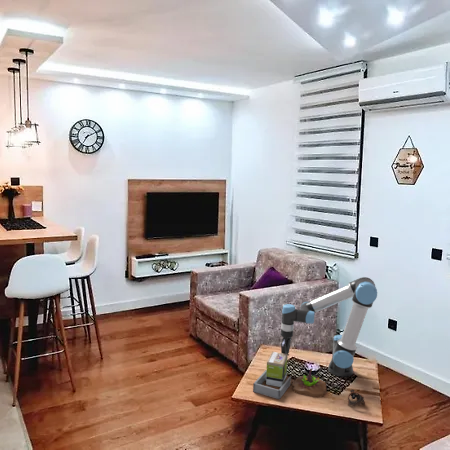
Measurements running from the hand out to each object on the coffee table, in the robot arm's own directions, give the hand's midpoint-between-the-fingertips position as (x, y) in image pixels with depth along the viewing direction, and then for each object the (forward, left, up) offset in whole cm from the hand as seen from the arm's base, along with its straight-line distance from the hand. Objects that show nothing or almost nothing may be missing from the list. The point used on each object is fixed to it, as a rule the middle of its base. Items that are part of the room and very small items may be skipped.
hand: (284, 365), depth 285 cm
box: (0, +22, -5) cm, 22 cm away
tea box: (+1, +12, -5) cm, 13 cm away
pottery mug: (-46, +14, -5) cm, 49 cm away
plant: (-19, +10, -5) cm, 22 cm away
